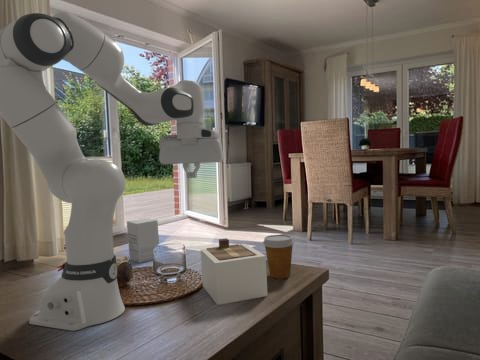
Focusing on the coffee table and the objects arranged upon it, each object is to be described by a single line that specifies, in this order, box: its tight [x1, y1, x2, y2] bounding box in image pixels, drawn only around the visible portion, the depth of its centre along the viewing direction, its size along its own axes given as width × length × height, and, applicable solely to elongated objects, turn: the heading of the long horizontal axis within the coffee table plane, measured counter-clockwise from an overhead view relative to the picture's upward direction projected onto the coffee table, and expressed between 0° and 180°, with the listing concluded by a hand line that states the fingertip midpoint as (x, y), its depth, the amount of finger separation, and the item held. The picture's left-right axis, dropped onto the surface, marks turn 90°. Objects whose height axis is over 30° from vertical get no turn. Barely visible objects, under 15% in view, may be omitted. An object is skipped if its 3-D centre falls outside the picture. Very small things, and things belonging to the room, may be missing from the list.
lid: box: [205, 237, 255, 261], centre depth 110 cm, size 14×10×4 cm
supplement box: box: [126, 217, 160, 264], centre depth 148 cm, size 9×9×15 cm
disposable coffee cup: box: [262, 234, 295, 279], centre depth 120 cm, size 10×10×12 cm
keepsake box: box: [200, 243, 268, 306], centre depth 108 cm, size 16×14×11 cm
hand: (191, 177), depth 121 cm, fingers closed
